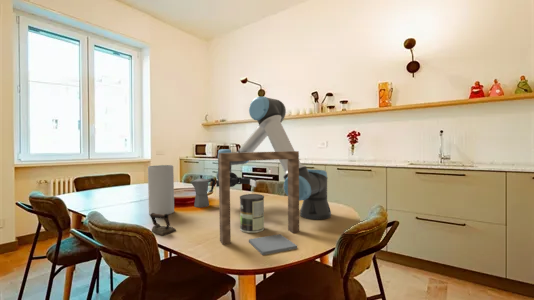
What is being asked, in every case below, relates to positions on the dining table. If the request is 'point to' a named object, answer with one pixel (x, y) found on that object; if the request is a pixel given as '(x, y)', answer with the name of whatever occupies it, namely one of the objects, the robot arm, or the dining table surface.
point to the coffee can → (252, 213)
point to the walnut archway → (252, 156)
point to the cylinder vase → (161, 189)
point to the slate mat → (272, 244)
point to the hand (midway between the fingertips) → (241, 184)
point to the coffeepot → (202, 191)
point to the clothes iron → (161, 229)
